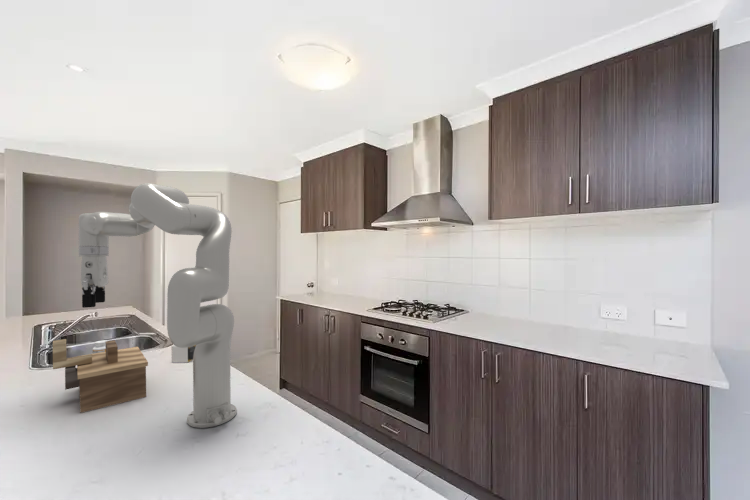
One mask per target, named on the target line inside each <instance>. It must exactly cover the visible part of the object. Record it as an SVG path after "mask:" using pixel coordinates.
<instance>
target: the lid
mask: <svg viewBox="0 0 750 500" xmlns="http://www.w3.org/2000/svg"><path fill="white" fill-rule="evenodd" d="M118 348H119V346H118V344H117V342H116V340H107V341H106V352H100V353H94V354H93V353H89V354H87V355H90V354H92V363H88V364H82V365H76V368H77V375H78V379H83V378H88V377H93V376H98V375H103V374H108V373H113V372H119V371H124V370H129V369H134V368H139V367H144V366H146V367H148V366H149V362H148V360H147V359H146V357H145V356H144V353H143V352H142V350H141V349H140V348H139V346H133V347H127V348H125V347H124V348H121V349H120V348H119V349H118ZM84 355H85V354H84ZM84 355H83V354H82V355H81V356H84Z"/></svg>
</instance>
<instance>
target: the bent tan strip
mask: <svg viewBox="0 0 750 500" xmlns="http://www.w3.org/2000/svg"><path fill="white" fill-rule="evenodd" d="M89 354H90V355H88V354H84V356H82V355H77V356H72V357H67V338H64V339H56V340H53V341H52V370H57V369H63V368H64V369H65V367H70V366H76V367H77V365H82V364H88V363H92V354H93V353H89Z"/></svg>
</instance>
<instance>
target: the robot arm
mask: <svg viewBox="0 0 750 500" xmlns="http://www.w3.org/2000/svg"><path fill="white" fill-rule="evenodd" d="M130 201H131V202H130V204H129V206H128V212H129V213H124V212H123V213H121V212H109V211H95V212H92V213H90V212H87V213H81V214H79V216H78V257H81V264H80V284H81V289H82V291H81V299H82V300H81V301H82V302H81V307H82V308H95V307H96V305H97V304H96V303H99V304H100V303H104V302H106V286H107V285H108V284H109V268H108V266H109V265H108V260H107V259H108V257H109V255H110V254H109V253H110V252H109V251H110V248H109V247H110V246H109V245H110V243H109V240H110V239H109V237H124V238H125V237H128V238H130V237H137V236H141V235H144V234H147V233H149V232H151V231H152V230H153V229H154V228H155V227H157V228H159V229H160V230H162V231H163V232H165V233H167V234H171V235H178V236H179V235H186V236H202V237H203V238H201V240H200V241H199V243H198V245H197V248H196V252H195V267H188V268H187V267H186V268H182V269H179V270H177V271H175V273H174V274H173V275H172V276H171V278H170V280H169V282H168V286H167V294H166V295H167V296H166V297H167V298H166V299H167V301H166V303H167V304H166V305H167V306H166V307H167V308H166V316H167V317H166V330H167V335H168V338H169V341H170V342H171V343H172V344H173V345H175V346H177V347H180V348H188V347H192V346H195V345H196V347H195V351H194V356H193V360H192V380H193V381H192V387H193V388H192V392H193V393H192V397H193V398H192V401H193V402H192V403H193V404H192V405H193V410H192V411H191V412H189V414H188V415H187V417H186V424H187V425H188V426H190V427H193V428H197V429H204V428H205V429H207V428H213V427H217V426H220V425H223V424H225V423H227V422H229V421H231V420H233V418H234V417H235V416H236V414H237V407H236V406H235V405H234V404H233V403H231V400H232V399H231V397H232V396H231V395H232V394H231V391H232V389H231V388H232V387H231V386H232V385H231V353H232V351H231V350H232V349H231V348H232V345H231V344H232V336H233V332H234V327H235V318H234V317H235V316H234V313H233V312H232V310H231V308H230V307H228V306H227V305H224V304H221V303H212V304H208V305H202V306H201V303H206V302H211V301H215V300H219V299H222V298H224V297H225V296H226V295H227V294H228V291H229V287H230V249H231V241H232V232H233V231H232V224H231V221H230V220H229V217H228V216H227V215H226V214H225V212H222V211H221V210H219V209H216V208H214V207H209V206H206V205H199V204H191V203H190V199H189V197H188V196H187V194H186V193H185V192H184V191H183V190H181V189H179V188H175V187H173V186H167V185H166V186H165V185H161V184H156V183H151V182H150V183H149V182H148V183H143V184H139V185H137V186H136V187H135V188H134V189H133V191H132V193H131V195H130Z"/></svg>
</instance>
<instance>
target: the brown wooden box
mask: <svg viewBox="0 0 750 500" xmlns="http://www.w3.org/2000/svg"><path fill="white" fill-rule="evenodd" d="M64 370H65V371H64V382H65V383H64V385H65V386H64V387H65V388H64V390H65V391H66V390H71V389H75V388H78V391H79V413H81V414H82V413H85V412H90V411H94V410H98V409H102V408H106V407H111V406H114V405H118V404H123V403H127V402H131V401H136V400H138V399H143V398H146V397H147V366H144V367H139V368H134V369H129V370H124V371H119V372H113V373H108V374H103V375H98V376H93V377H88V378H83V379H78V375H77V365H76V366H70V367H65V368H64Z"/></svg>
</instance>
